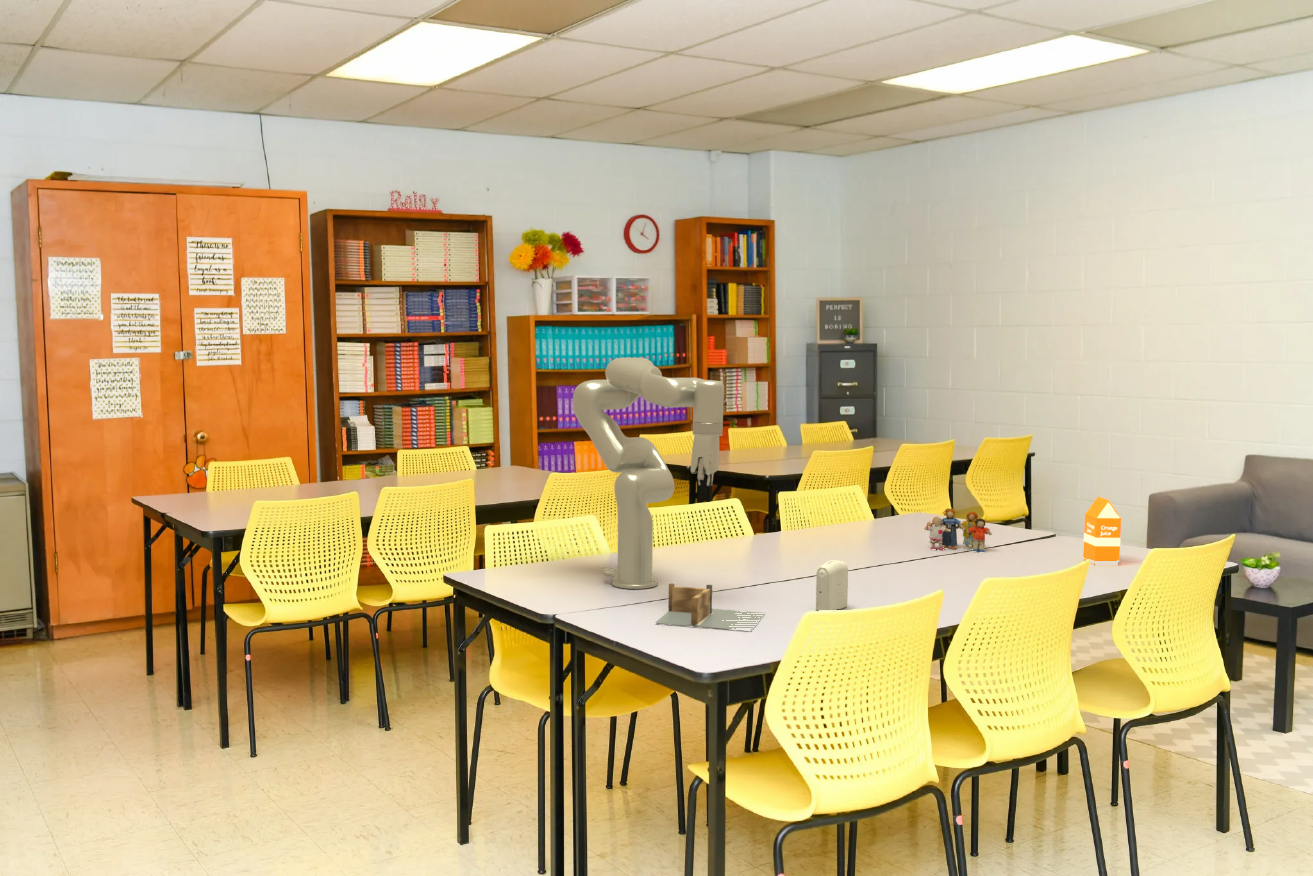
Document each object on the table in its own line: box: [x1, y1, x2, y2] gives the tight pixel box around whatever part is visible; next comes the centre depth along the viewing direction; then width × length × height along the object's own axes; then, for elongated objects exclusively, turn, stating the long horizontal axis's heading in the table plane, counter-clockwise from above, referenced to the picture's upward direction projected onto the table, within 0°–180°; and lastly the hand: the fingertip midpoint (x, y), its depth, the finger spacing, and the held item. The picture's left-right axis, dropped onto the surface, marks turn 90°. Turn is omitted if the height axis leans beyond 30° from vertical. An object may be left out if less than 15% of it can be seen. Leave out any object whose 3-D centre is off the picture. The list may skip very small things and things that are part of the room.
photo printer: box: [815, 559, 849, 611], centre depth 281 cm, size 10×4×12 cm, turn 140°
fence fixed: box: [667, 583, 713, 614], centre depth 275 cm, size 11×1×7 cm, turn 74°
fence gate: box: [691, 589, 710, 624], centre depth 268 cm, size 12×1×6 cm, turn 161°
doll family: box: [923, 508, 993, 553], centre depth 367 cm, size 21×10×13 cm, turn 77°
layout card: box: [654, 608, 765, 630], centre depth 270 cm, size 23×18×1 cm
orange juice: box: [1082, 496, 1122, 561], centre depth 345 cm, size 8×9×20 cm
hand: (704, 500), depth 286 cm, fingers closed
